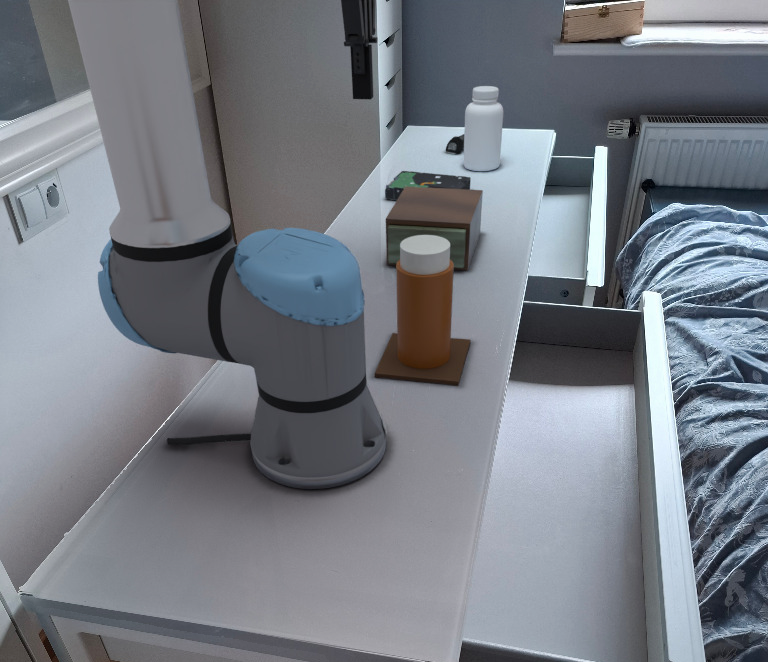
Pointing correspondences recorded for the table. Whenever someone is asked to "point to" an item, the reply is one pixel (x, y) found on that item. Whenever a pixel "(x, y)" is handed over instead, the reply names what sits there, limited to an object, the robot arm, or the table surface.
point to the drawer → (405, 231)
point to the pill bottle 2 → (483, 130)
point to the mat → (441, 375)
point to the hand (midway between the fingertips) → (363, 97)
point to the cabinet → (440, 213)
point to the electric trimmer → (455, 145)
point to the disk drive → (424, 182)
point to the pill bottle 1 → (424, 301)
